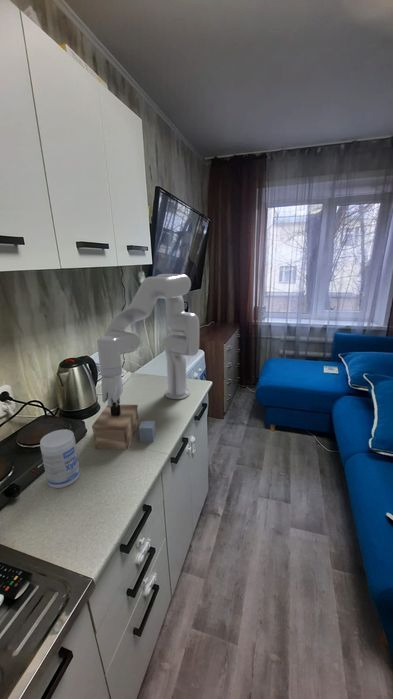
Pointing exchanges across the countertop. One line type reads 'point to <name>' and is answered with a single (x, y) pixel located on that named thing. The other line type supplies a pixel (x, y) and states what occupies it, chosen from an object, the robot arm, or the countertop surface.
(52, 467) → the supplement tub
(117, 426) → the lid
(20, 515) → the countertop surface
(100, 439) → the box
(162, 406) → the countertop surface
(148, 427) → the block
